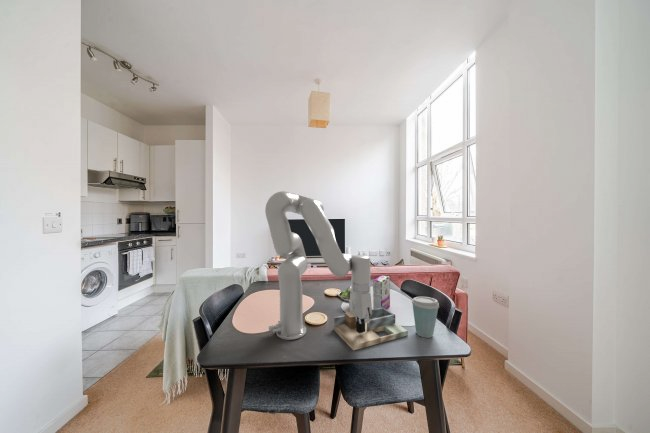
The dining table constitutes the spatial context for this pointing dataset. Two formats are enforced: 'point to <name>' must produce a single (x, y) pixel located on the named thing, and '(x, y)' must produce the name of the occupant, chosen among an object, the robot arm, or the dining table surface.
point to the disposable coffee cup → (425, 315)
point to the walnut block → (350, 320)
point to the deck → (370, 329)
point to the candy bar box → (381, 292)
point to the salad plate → (345, 294)
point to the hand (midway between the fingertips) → (360, 331)
